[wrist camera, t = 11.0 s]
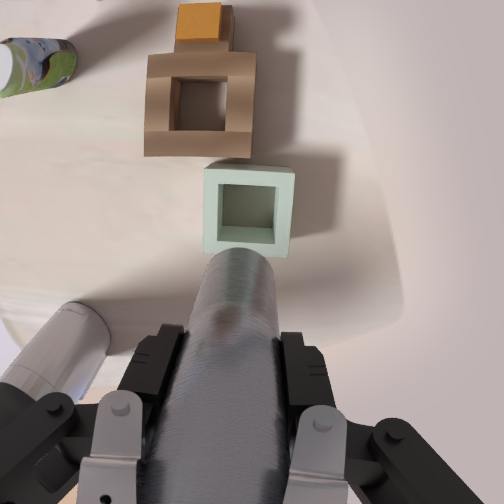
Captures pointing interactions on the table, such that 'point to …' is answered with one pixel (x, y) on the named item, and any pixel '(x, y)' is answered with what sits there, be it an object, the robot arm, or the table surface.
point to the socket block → (200, 70)
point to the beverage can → (34, 64)
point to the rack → (253, 238)
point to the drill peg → (224, 395)
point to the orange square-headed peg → (199, 23)
